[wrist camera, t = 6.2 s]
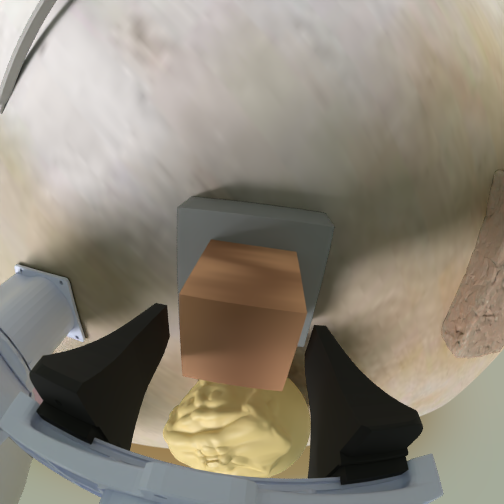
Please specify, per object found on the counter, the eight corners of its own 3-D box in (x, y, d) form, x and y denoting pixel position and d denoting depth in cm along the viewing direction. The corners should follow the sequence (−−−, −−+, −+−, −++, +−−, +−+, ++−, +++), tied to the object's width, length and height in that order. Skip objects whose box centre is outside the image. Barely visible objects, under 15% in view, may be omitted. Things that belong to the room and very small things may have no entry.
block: (206, 309, 18) (182, 375, 12) (210, 239, 16) (178, 294, 10) (281, 320, 18) (282, 391, 12) (296, 251, 16) (307, 313, 10)
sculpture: (263, 324, 22) (255, 442, 12) (324, 395, 25) (334, 485, 15) (167, 365, 25) (132, 454, 15) (237, 422, 28) (226, 499, 18)
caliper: (122, -52, 9) (91, -79, 3) (128, -50, 9) (96, -79, 3) (0, 109, 15) (-42, 115, 9) (3, 114, 15) (-40, 120, 10)
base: (190, 307, 21) (179, 329, 19) (191, 196, 18) (177, 207, 15) (300, 321, 21) (303, 346, 18) (325, 213, 18) (334, 226, 15)
